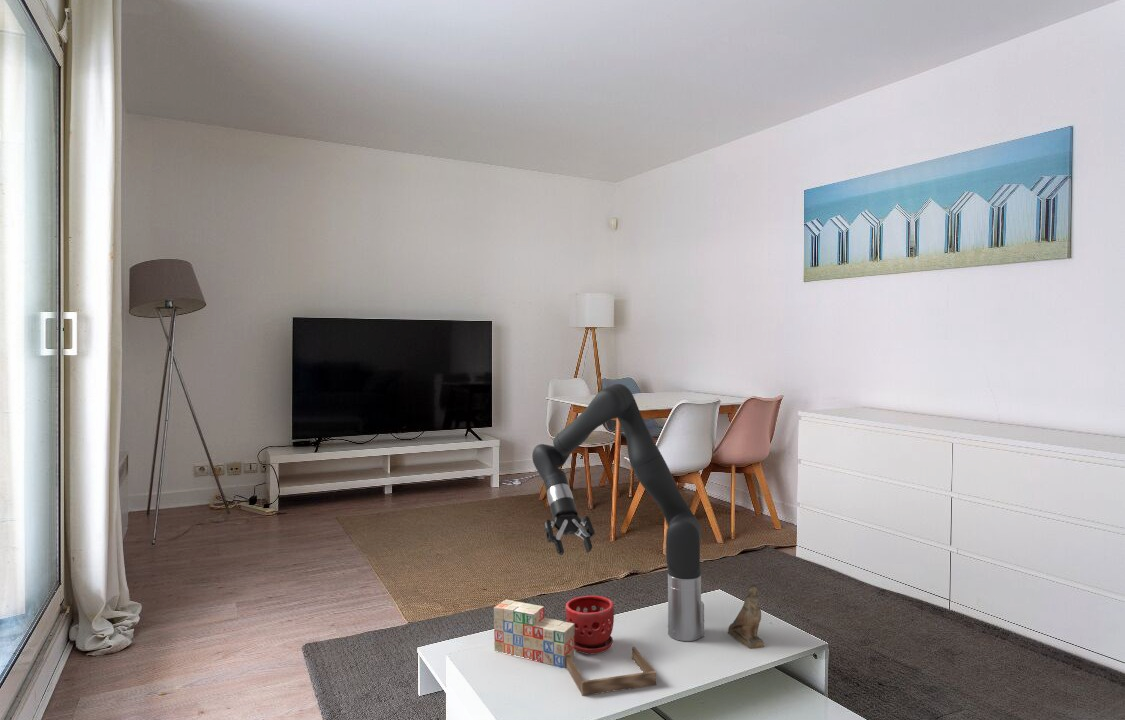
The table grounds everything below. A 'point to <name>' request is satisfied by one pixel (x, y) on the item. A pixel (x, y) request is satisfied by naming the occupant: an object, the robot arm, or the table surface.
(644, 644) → the table surface
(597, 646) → the plant pot
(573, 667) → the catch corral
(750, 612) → the brown carved statuette
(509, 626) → the stack of blocks
